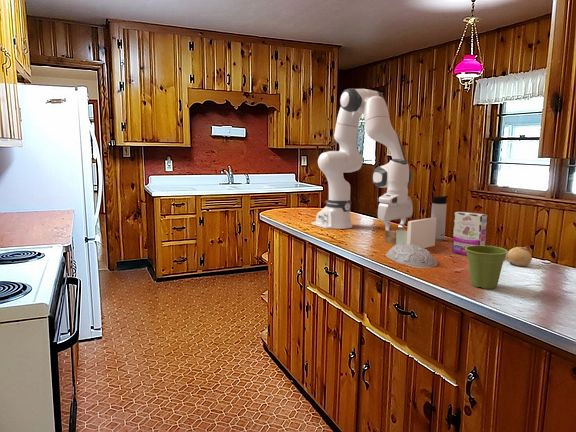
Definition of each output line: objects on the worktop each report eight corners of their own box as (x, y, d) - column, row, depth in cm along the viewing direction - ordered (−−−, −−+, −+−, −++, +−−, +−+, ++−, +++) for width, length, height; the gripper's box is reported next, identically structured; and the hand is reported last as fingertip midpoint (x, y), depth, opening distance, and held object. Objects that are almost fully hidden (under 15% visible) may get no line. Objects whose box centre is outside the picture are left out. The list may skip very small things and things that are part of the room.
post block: (391, 247, 183) (392, 218, 181) (416, 242, 195) (417, 215, 193) (409, 251, 176) (411, 221, 174) (434, 245, 188) (436, 217, 186)
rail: (385, 241, 194) (385, 229, 193) (390, 240, 196) (390, 228, 196) (412, 247, 184) (413, 234, 183) (417, 246, 186) (418, 233, 185)
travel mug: (446, 241, 196) (449, 196, 193) (430, 240, 198) (433, 196, 194) (444, 238, 202) (446, 195, 199) (429, 238, 204) (431, 194, 201)
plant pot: (479, 277, 141) (482, 243, 140) (513, 288, 131) (517, 251, 129) (453, 282, 136) (456, 247, 134) (487, 294, 125) (490, 255, 124)
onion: (510, 267, 155) (512, 247, 154) (502, 261, 162) (504, 242, 161) (534, 268, 154) (536, 248, 153) (525, 262, 161) (527, 243, 160)
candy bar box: (484, 256, 170) (488, 214, 167) (478, 258, 167) (481, 215, 164) (457, 251, 178) (460, 210, 176) (451, 252, 175) (454, 211, 172)
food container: (414, 269, 150) (416, 249, 150) (374, 255, 173) (376, 238, 173) (450, 269, 156) (452, 250, 155) (407, 256, 179) (409, 240, 178)
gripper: (405, 195, 198) (403, 225, 201) (376, 198, 185) (374, 230, 188) (417, 196, 194) (415, 227, 196) (388, 200, 181) (386, 233, 183)
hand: (394, 229), depth 192 cm, fingers open, 8 cm apart
